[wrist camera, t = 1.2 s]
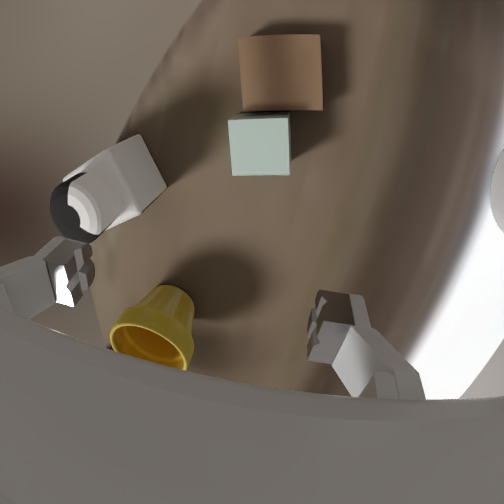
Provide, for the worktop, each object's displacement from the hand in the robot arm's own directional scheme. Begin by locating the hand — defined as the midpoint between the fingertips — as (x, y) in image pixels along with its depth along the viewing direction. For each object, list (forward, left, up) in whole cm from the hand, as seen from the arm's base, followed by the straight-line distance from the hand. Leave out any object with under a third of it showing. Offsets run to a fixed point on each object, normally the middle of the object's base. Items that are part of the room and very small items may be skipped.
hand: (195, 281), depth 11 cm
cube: (0, 0, -23) cm, 23 cm away
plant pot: (+14, +22, -24) cm, 35 cm away
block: (-2, -7, -23) cm, 24 cm away
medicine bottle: (+16, +3, -24) cm, 28 cm away
